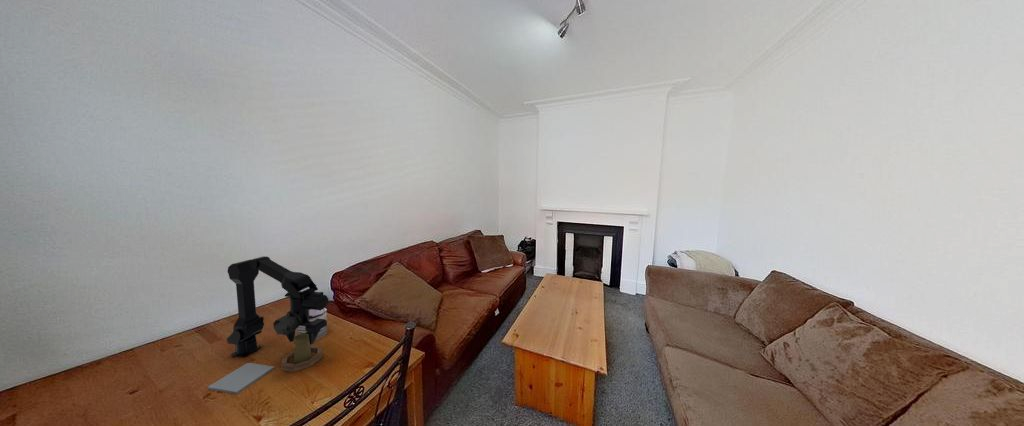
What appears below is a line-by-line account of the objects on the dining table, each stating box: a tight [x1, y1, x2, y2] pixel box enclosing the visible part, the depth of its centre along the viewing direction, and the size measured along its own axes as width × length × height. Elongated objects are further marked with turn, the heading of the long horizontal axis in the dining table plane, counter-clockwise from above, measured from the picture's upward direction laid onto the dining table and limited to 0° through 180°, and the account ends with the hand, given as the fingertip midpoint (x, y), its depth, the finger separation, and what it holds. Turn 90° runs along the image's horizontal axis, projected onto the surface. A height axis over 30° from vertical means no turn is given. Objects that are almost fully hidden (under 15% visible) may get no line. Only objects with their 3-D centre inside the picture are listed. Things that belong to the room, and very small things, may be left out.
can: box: [296, 307, 328, 341], centre depth 117 cm, size 11×11×12 cm
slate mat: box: [206, 362, 275, 395], centre depth 91 cm, size 12×12×1 cm
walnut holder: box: [280, 344, 323, 373], centre depth 101 cm, size 12×12×2 cm
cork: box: [292, 333, 313, 364], centre depth 101 cm, size 6×6×11 cm
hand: (301, 342), depth 101 cm, fingers open, 9 cm apart
